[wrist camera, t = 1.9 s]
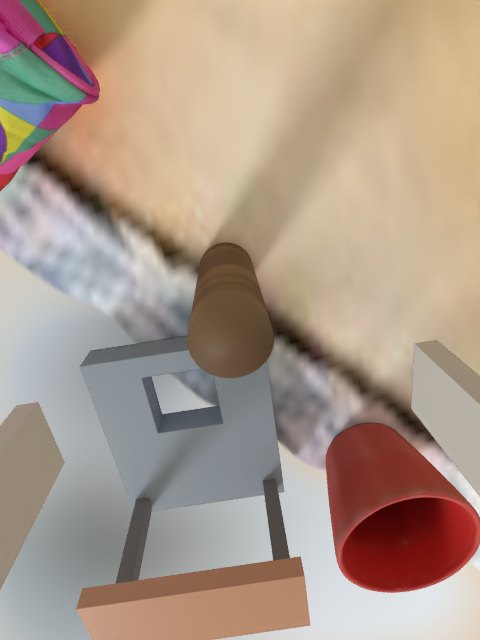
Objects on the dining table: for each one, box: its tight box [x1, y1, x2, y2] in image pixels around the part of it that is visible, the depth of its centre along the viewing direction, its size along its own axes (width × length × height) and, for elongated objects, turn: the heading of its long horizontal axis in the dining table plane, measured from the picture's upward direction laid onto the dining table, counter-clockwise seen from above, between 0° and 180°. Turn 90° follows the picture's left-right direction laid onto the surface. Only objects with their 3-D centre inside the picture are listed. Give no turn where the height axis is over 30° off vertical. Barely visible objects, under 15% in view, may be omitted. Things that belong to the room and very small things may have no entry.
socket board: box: [76, 336, 310, 640], centre depth 27 cm, size 16×14×13 cm
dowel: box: [187, 243, 274, 378], centre depth 23 cm, size 4×4×12 cm
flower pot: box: [326, 423, 480, 593], centre depth 32 cm, size 11×11×10 cm
